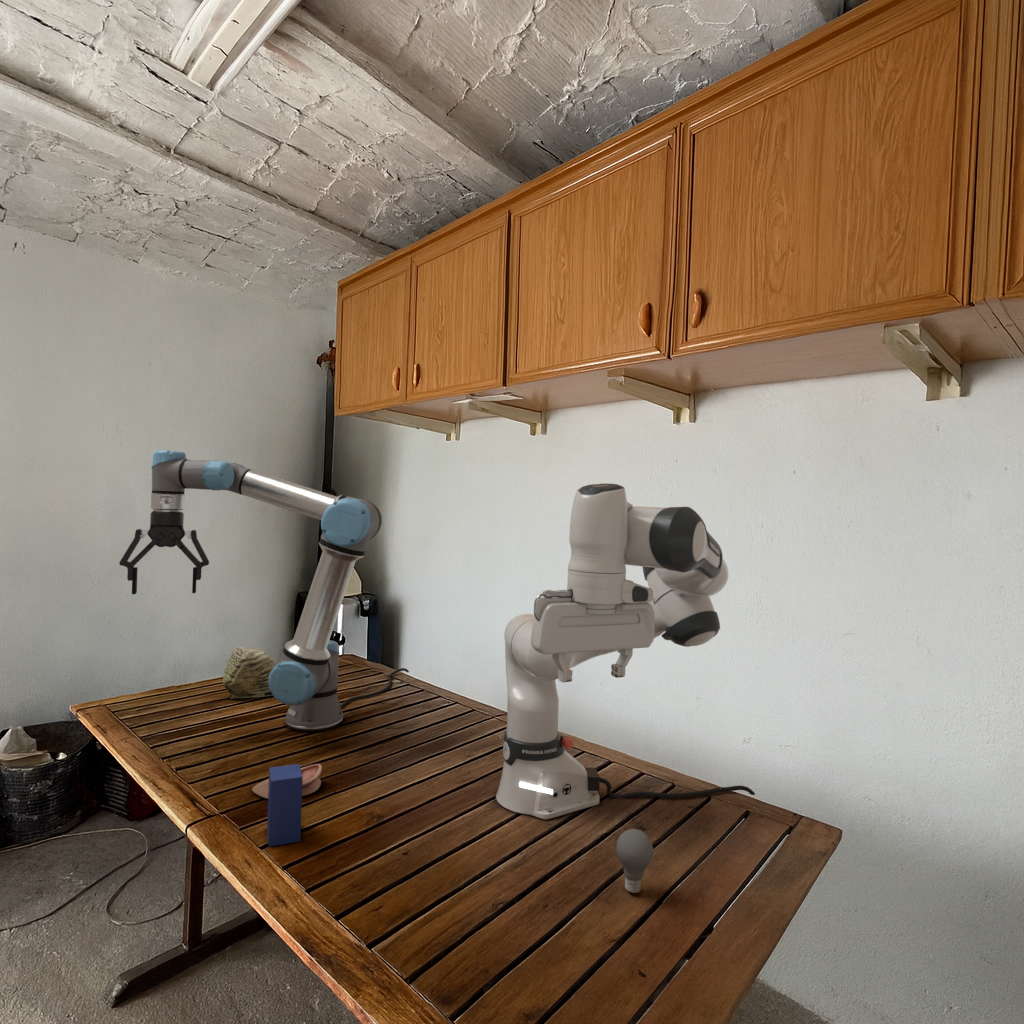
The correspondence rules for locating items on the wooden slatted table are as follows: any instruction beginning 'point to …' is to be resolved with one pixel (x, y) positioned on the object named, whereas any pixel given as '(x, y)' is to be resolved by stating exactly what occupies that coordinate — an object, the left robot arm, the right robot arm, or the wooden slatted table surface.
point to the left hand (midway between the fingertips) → (164, 593)
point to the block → (284, 804)
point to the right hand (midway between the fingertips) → (591, 678)
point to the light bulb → (634, 857)
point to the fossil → (248, 673)
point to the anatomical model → (308, 783)
